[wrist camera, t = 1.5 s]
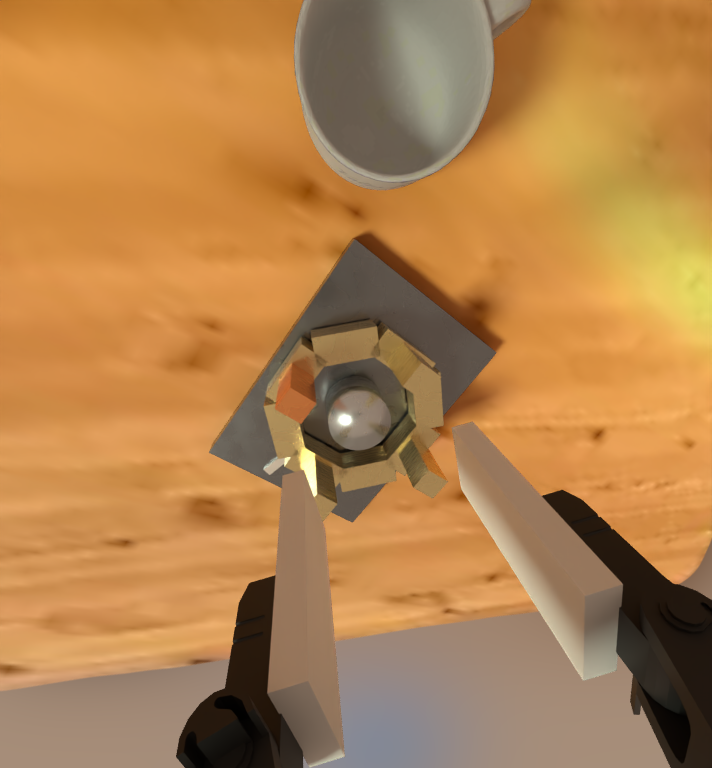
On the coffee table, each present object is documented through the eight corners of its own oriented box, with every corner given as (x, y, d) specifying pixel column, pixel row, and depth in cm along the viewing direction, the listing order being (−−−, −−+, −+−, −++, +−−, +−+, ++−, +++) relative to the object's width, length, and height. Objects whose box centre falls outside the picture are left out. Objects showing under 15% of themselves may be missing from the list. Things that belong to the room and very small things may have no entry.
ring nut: (238, 426, 32) (222, 478, 25) (334, 287, 29) (345, 304, 22) (369, 495, 37) (385, 554, 30) (464, 382, 34) (506, 420, 27)
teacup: (327, 216, 29) (337, 209, 21) (270, 44, 25) (257, -37, 17) (496, 153, 29) (563, 126, 21) (468, -28, 25) (540, -140, 17)
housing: (212, 443, 34) (197, 479, 29) (352, 238, 30) (363, 239, 25) (350, 512, 40) (358, 553, 35) (488, 348, 35) (520, 367, 30)
